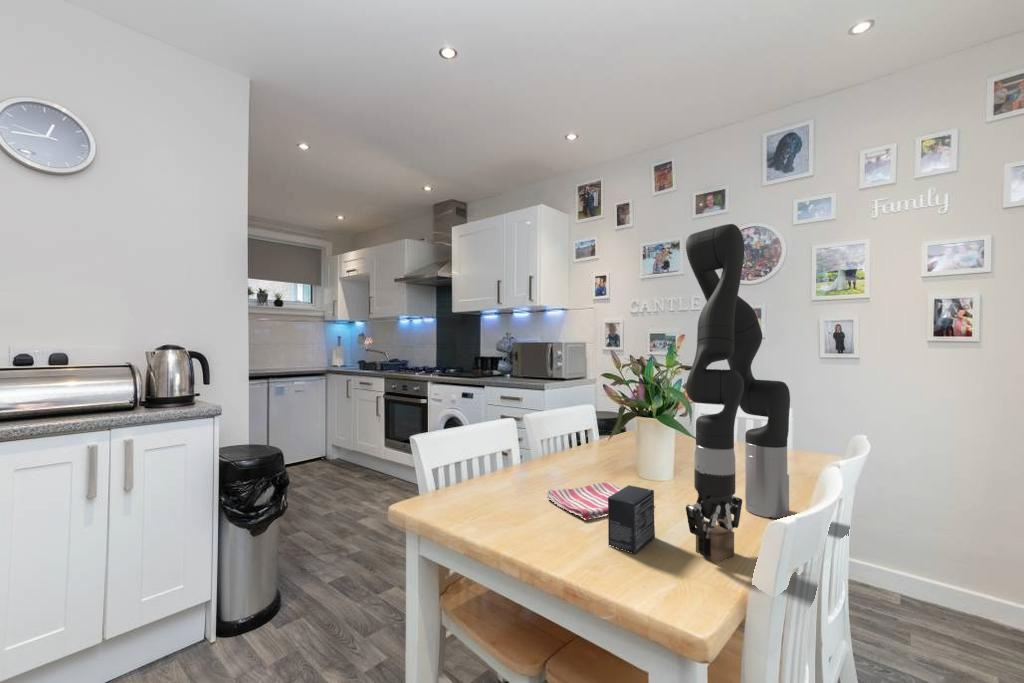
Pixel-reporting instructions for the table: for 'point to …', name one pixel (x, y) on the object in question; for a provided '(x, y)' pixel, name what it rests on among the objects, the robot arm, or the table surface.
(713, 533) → the walnut block
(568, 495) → the dish towel
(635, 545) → the small box
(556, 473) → the table surface
